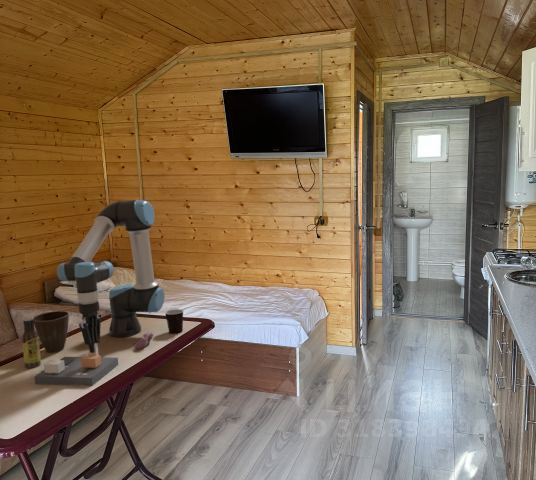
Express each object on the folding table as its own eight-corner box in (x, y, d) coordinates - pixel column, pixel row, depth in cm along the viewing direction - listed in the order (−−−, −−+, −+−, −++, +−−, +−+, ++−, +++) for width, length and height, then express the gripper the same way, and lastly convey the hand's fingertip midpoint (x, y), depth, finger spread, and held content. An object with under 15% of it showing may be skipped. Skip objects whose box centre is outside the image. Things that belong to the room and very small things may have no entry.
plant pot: (64, 355, 223) (60, 320, 220) (30, 356, 223) (26, 321, 221) (77, 343, 238) (73, 310, 235) (46, 345, 238) (42, 312, 236)
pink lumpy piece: (142, 353, 224) (147, 339, 223) (133, 348, 225) (138, 335, 223) (151, 345, 234) (156, 332, 232) (142, 341, 234) (147, 328, 233)
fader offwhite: (51, 368, 198) (50, 360, 198) (65, 368, 197) (64, 360, 197) (44, 372, 195) (43, 364, 194) (58, 373, 193) (57, 364, 193)
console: (65, 363, 213) (64, 356, 212) (118, 364, 208) (117, 357, 208) (35, 383, 193) (34, 376, 193) (92, 385, 189) (91, 377, 188)
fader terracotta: (87, 363, 202) (86, 354, 201) (101, 363, 201) (100, 355, 200) (81, 367, 198) (80, 358, 197) (95, 367, 197) (94, 359, 196)
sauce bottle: (31, 369, 208) (25, 322, 205) (21, 367, 211) (15, 321, 208) (45, 363, 214) (39, 318, 211) (35, 361, 217) (29, 316, 214)
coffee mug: (169, 329, 251) (167, 309, 249) (186, 328, 251) (184, 308, 249) (163, 337, 239) (161, 316, 238) (181, 336, 239) (179, 315, 238)
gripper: (88, 297, 205) (94, 353, 209) (70, 306, 193) (77, 365, 196) (105, 297, 204) (111, 353, 207) (88, 306, 191) (94, 366, 195)
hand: (94, 359), depth 202 cm, fingers closed
